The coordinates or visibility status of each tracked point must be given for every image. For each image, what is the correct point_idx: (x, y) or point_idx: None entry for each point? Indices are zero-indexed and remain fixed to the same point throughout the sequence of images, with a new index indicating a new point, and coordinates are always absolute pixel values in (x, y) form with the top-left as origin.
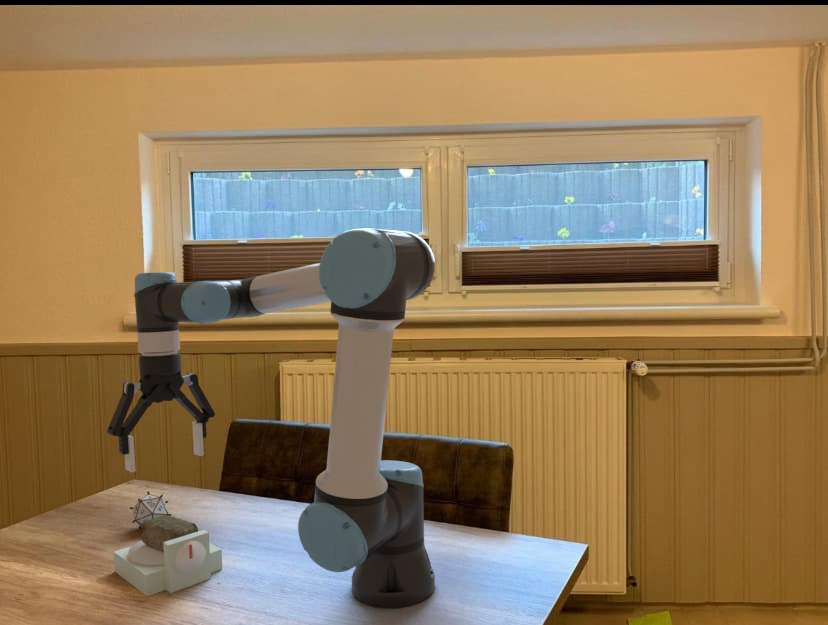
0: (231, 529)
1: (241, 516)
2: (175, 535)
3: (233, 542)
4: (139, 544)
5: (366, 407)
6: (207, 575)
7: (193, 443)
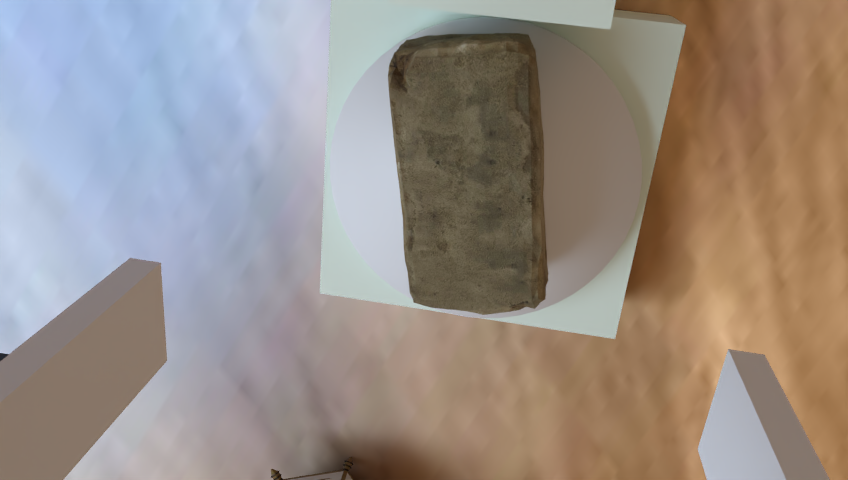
0: None
1: None
2: (529, 45)
3: (198, 160)
4: None
5: None
6: None
7: (121, 409)
